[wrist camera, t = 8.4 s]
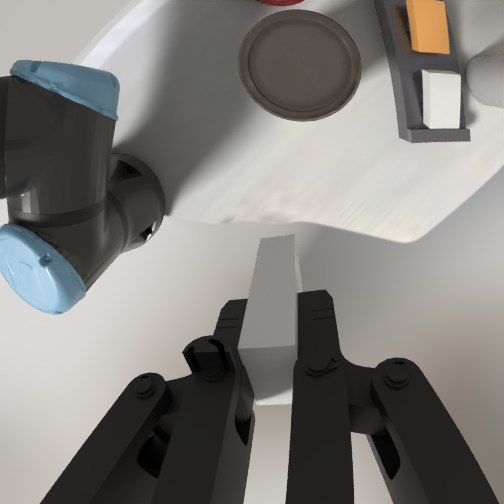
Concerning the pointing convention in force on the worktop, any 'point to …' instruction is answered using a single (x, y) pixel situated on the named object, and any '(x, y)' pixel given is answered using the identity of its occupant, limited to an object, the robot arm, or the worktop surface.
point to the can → (487, 79)
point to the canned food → (281, 2)
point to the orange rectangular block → (428, 26)
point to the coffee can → (299, 65)
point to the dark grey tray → (415, 75)
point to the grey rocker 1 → (441, 99)
